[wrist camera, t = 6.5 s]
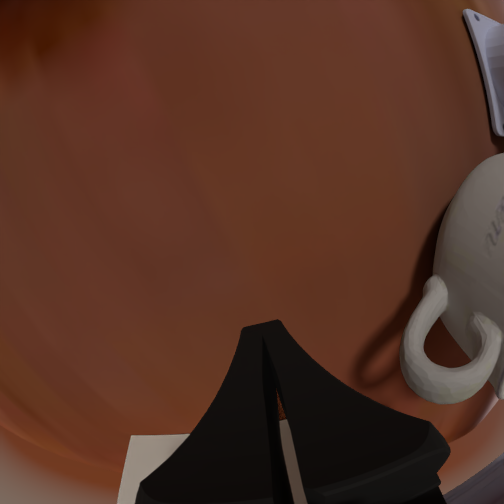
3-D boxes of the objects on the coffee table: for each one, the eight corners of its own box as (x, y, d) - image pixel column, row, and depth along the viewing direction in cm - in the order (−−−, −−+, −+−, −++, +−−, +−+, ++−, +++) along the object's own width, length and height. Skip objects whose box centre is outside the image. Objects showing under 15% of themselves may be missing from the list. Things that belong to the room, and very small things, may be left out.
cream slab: (359, 396, 16) (409, 505, 8) (358, 410, 16) (401, 512, 8) (127, 433, 16) (106, 534, 8) (138, 445, 16) (122, 541, 8)
